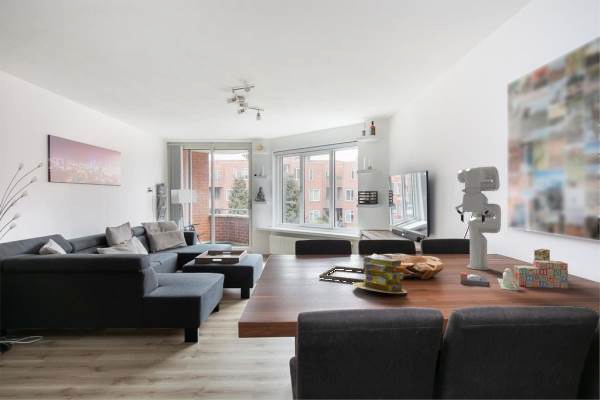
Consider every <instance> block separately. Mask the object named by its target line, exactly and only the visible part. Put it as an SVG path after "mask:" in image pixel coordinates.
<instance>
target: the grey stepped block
mask: <svg viewBox="0 0 600 400" xmlns="http://www.w3.org/2000/svg"><path fill="white" fill-rule="evenodd" d="M468 275H469V274H468V273H467V272H463V271H462V272H460V284H461V285H468V286H470V285H471V286H477V287H478V286H479V287H488V286H489V285H488V284H489V282H488V278H487V276H484V275H483V276H482V275H478V276H479V277H481V280H472V279H467V276H468Z"/></svg>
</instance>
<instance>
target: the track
mask: <svg viewBox="0 0 600 400" xmlns="http://www.w3.org/2000/svg"><path fill="white" fill-rule="evenodd" d="M497 281H498V283H499V287H500V288H501V290H506V291H507V290H508V291H515V292H516V291H517V292H518V291H519V289H518V288H517V285H516V284H514V288H507V287H503V286H502V284H503V278H497Z"/></svg>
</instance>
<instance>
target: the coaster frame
mask: <svg viewBox="0 0 600 400" xmlns="http://www.w3.org/2000/svg"><path fill="white" fill-rule="evenodd" d="M335 269H344V270H352V271H361V272H365V269H363V267H361V268H360V267H351V266H339V265H335V266H332V267H331V268H329V269H328V270H325V272H323V273H321V274H319V275H318V277H319V278H324V279H332V280H339V281H346V282H354V283H364V278H356V277H355V278H354V277H345V276H335V275H328V276H327V274H329V273H330V272H332V271H334V270H335Z"/></svg>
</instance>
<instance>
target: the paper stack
mask: <svg viewBox="0 0 600 400" xmlns="http://www.w3.org/2000/svg"><path fill="white" fill-rule="evenodd" d="M362 261H363V267H362V268H363V269H365V273H364V275H365V279H364V278H363V279H364V283H352V285H353V286H354V287H356V288H359V289H363V290H366V291H367V292H368V293H369V291H374V292H379V293H387V294H406V293H408V291H407V290H406V289H403V283H400V282H401V280H404V276H405V273H403V272H399V271H396V270H397V268H398V267H401V266H402V260H401V259H395V258H394V259H393V258H389V257H387V256H386V257H385V256H382V255H379V254H377V253H373V254H371V255H364V256H363V260H362Z"/></svg>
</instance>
